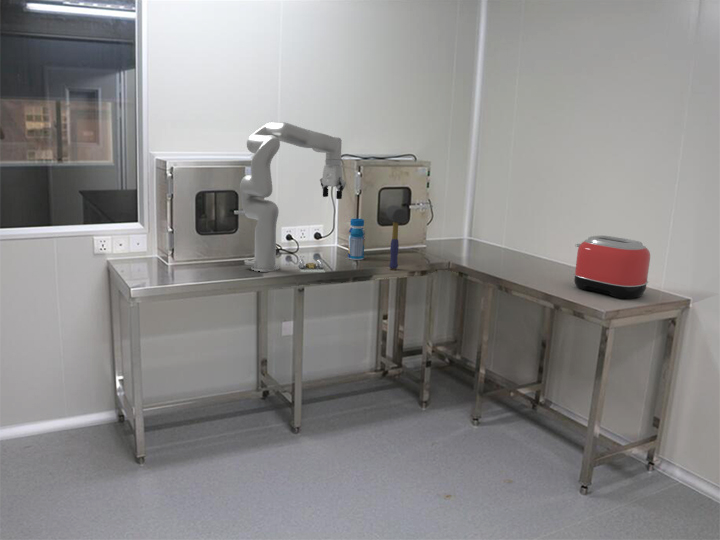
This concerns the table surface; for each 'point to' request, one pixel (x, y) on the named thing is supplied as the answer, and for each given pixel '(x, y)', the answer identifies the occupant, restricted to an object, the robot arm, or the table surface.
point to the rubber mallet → (395, 232)
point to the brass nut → (311, 265)
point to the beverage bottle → (356, 240)
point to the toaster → (612, 266)
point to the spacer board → (311, 269)
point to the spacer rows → (319, 264)
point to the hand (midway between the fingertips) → (332, 197)
